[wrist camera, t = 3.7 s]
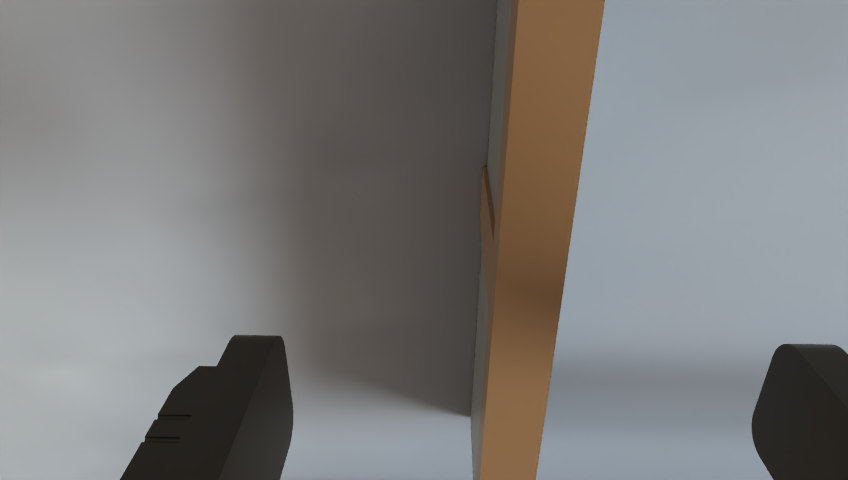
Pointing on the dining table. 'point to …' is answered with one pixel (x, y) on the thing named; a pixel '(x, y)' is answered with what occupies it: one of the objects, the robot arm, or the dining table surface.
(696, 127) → the dining table surface
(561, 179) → the thin wooden rail frame
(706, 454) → the dining table surface
